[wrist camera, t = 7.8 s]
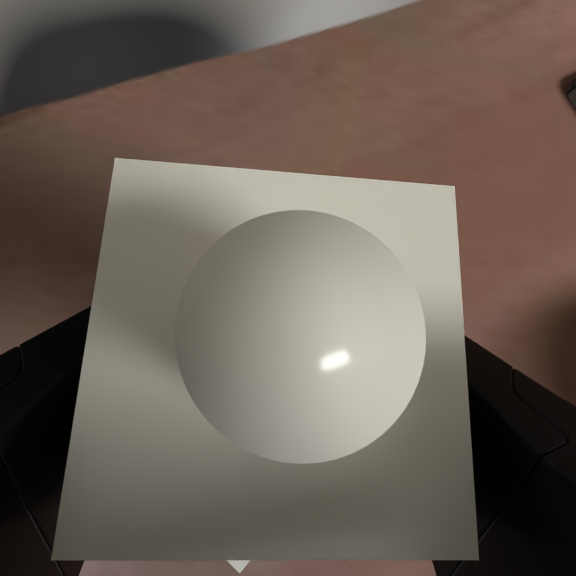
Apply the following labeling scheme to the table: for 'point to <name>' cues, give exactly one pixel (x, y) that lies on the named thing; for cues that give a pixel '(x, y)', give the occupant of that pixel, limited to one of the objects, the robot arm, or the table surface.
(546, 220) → the table surface
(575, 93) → the phone
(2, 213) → the table surface
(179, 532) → the white knobbed block
